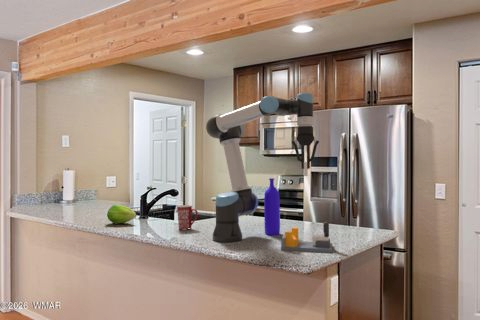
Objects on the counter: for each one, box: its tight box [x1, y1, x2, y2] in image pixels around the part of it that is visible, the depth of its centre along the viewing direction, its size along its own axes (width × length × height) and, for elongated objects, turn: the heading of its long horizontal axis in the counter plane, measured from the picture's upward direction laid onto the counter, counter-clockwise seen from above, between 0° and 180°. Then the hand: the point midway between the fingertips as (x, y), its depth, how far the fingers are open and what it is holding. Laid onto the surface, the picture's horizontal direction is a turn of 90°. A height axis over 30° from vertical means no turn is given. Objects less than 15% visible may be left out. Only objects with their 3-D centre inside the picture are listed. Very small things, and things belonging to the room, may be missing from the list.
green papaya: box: [106, 204, 137, 225], centre depth 249 cm, size 14×20×12 cm
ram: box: [311, 221, 330, 246], centre depth 176 cm, size 7×5×10 cm, turn 76°
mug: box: [176, 204, 199, 230], centre depth 228 cm, size 13×9×14 cm
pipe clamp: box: [284, 227, 300, 247], centre depth 179 cm, size 12×4×6 cm, turn 155°
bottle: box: [263, 177, 281, 236], centre depth 211 cm, size 8×8×30 cm
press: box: [280, 233, 333, 254], centre depth 177 cm, size 22×13×6 cm, turn 76°
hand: (305, 175), depth 186 cm, fingers closed
